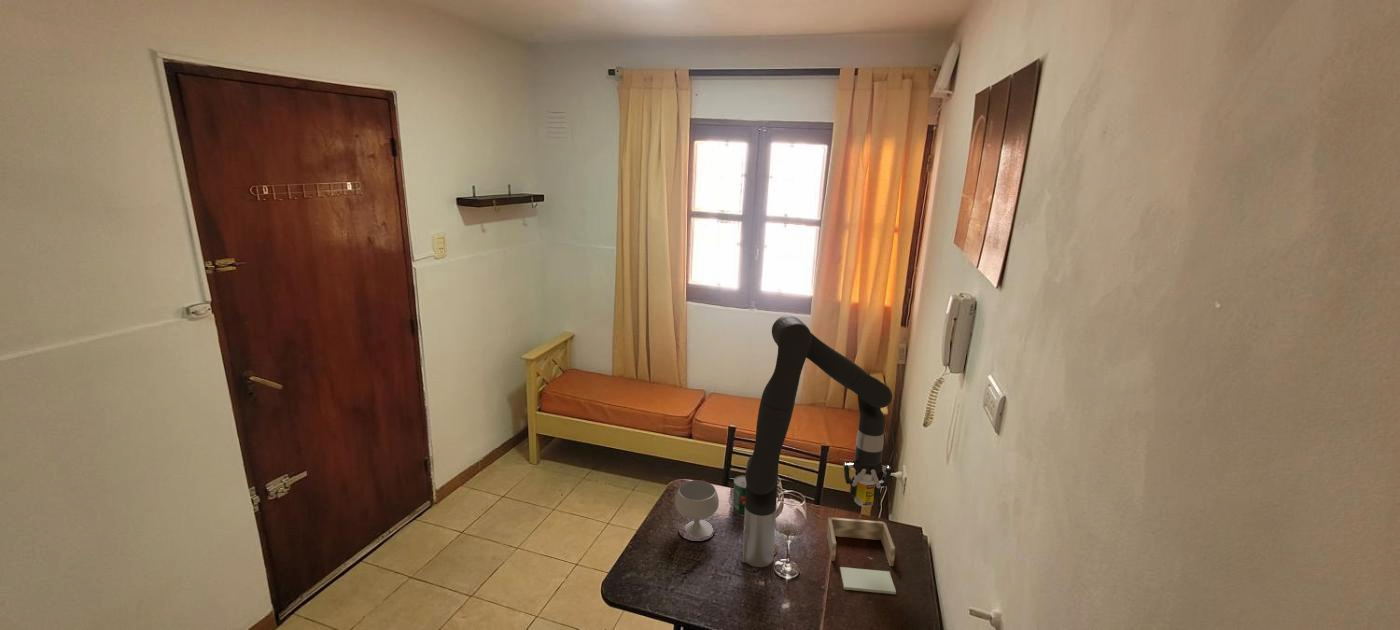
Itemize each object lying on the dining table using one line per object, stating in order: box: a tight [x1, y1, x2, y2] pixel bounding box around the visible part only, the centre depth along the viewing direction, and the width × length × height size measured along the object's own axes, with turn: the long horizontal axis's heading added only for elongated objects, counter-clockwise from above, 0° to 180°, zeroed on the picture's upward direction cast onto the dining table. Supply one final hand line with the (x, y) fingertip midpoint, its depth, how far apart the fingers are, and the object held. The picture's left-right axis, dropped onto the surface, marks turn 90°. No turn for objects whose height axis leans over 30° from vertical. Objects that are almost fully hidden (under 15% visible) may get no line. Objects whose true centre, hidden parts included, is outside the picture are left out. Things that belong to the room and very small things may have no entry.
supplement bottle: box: [853, 474, 875, 508], centre depth 156 cm, size 6×6×10 cm
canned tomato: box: [732, 475, 746, 517], centre depth 181 cm, size 8×8×11 cm
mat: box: [839, 566, 897, 595], centre depth 149 cm, size 14×8×1 cm, turn 83°
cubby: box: [826, 516, 896, 567], centre depth 162 cm, size 18×13×6 cm
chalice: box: [674, 479, 720, 537], centre depth 169 cm, size 14×14×15 cm
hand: (864, 496), depth 157 cm, fingers closed on supplement bottle, 5 cm apart
